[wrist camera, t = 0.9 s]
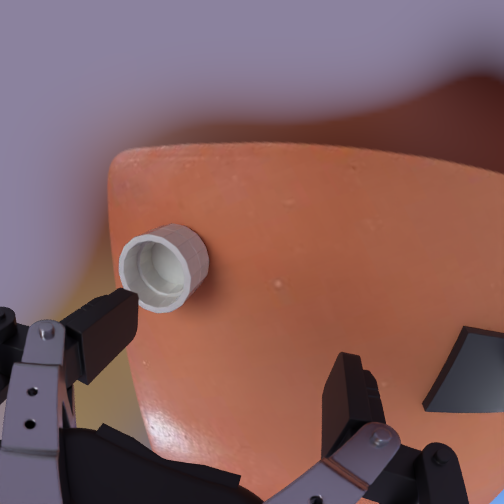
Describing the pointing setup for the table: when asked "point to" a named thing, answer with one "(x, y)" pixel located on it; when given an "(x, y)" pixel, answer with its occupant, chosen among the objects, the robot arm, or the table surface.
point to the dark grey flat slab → (471, 375)
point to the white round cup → (164, 267)
